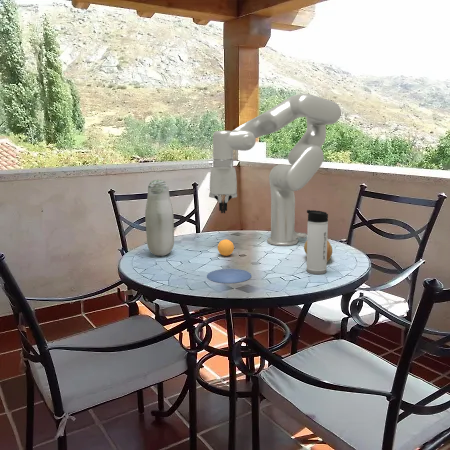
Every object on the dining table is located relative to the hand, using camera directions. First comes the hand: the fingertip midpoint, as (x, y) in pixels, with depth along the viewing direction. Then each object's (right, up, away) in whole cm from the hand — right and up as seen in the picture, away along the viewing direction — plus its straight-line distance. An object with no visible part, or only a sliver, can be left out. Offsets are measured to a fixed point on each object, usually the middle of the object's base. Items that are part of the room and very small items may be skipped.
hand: (223, 212), depth 168 cm
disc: (+2, -21, -30) cm, 36 cm away
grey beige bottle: (-23, -16, -4) cm, 28 cm away
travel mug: (+30, -20, -27) cm, 45 cm away
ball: (+1, -13, -7) cm, 15 cm away
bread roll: (+33, -17, -13) cm, 40 cm away
